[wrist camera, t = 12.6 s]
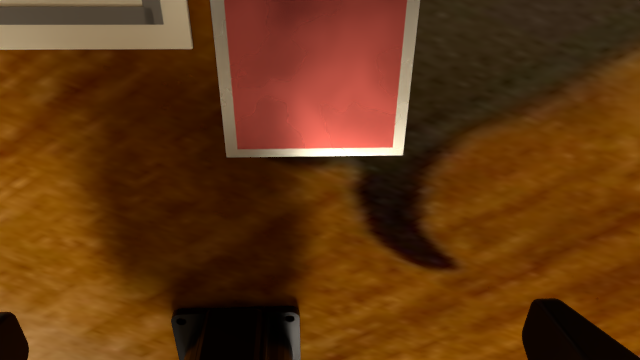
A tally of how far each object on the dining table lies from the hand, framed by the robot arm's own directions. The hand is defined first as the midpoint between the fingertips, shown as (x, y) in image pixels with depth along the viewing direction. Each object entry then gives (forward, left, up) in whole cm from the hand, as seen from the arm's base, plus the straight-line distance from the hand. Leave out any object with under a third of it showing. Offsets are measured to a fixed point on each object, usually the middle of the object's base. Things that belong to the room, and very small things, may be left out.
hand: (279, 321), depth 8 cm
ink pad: (+2, -1, -12) cm, 12 cm away
